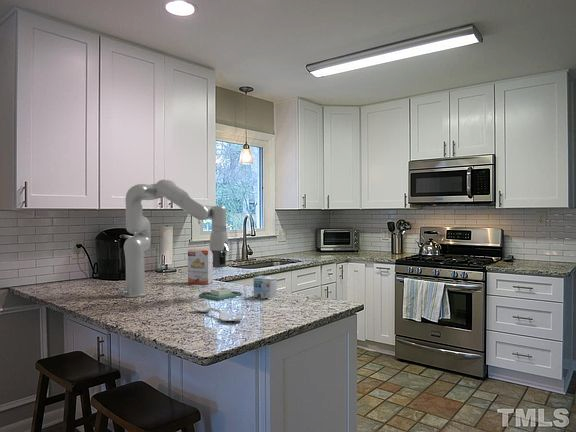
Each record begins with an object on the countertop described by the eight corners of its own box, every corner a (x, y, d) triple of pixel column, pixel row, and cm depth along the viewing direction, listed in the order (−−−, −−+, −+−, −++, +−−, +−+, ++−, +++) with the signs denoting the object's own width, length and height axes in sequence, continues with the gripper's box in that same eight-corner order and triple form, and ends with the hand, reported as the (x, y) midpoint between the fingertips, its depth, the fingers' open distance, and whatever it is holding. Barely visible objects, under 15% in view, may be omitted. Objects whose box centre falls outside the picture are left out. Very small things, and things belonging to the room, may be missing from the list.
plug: (217, 267, 226) (217, 250, 226) (212, 267, 229) (212, 250, 229) (227, 266, 231) (227, 249, 231) (222, 265, 234) (222, 249, 234)
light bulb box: (253, 297, 228) (253, 277, 228) (259, 295, 234) (259, 275, 234) (270, 299, 223) (270, 278, 223) (277, 297, 229) (277, 276, 229)
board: (219, 301, 220) (219, 293, 220) (199, 296, 230) (199, 289, 230) (242, 295, 232) (242, 288, 232) (222, 291, 242) (221, 284, 242)
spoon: (206, 308, 205) (206, 301, 205) (247, 322, 182) (247, 314, 182) (189, 312, 199) (189, 304, 199) (230, 326, 176) (230, 318, 176)
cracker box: (187, 283, 267) (187, 249, 267) (192, 281, 273) (192, 248, 273) (208, 284, 263) (207, 250, 263) (212, 283, 269) (212, 249, 268)
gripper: (203, 229, 232) (203, 263, 232) (224, 230, 221) (224, 266, 222) (214, 228, 238) (214, 261, 238) (235, 229, 227) (235, 264, 227)
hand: (219, 263), depth 230 cm, fingers closed on plug, 4 cm apart
